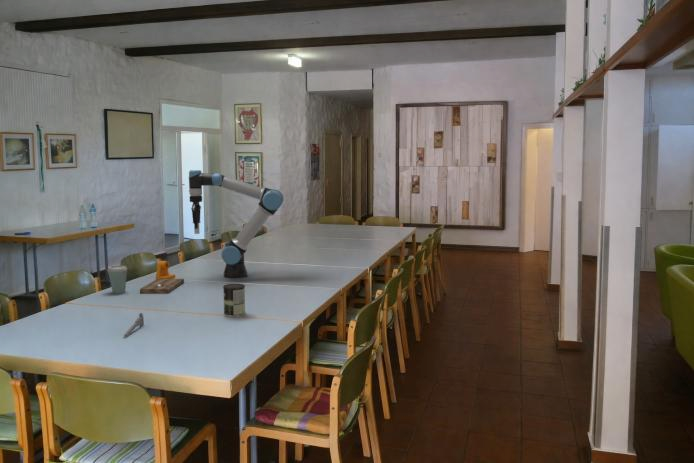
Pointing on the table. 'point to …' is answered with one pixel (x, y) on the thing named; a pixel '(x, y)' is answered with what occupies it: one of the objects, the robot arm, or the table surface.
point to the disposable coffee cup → (117, 278)
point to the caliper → (137, 323)
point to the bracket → (163, 271)
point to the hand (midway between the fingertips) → (197, 233)
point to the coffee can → (234, 300)
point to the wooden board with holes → (166, 286)
